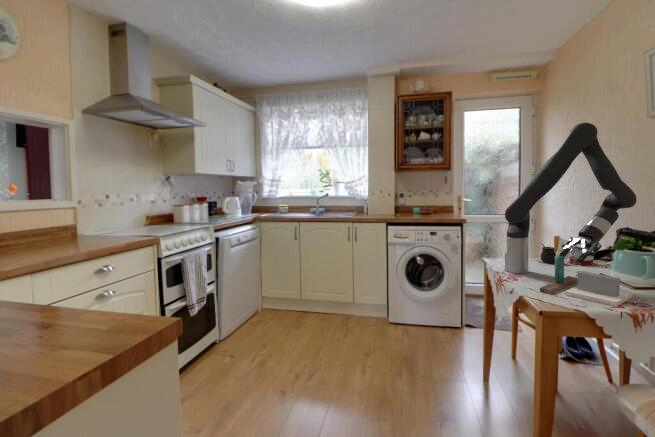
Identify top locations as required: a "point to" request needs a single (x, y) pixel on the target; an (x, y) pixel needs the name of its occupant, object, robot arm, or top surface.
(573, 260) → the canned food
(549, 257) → the mate gourd
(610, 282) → the ridge stand
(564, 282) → the teal peg on base
